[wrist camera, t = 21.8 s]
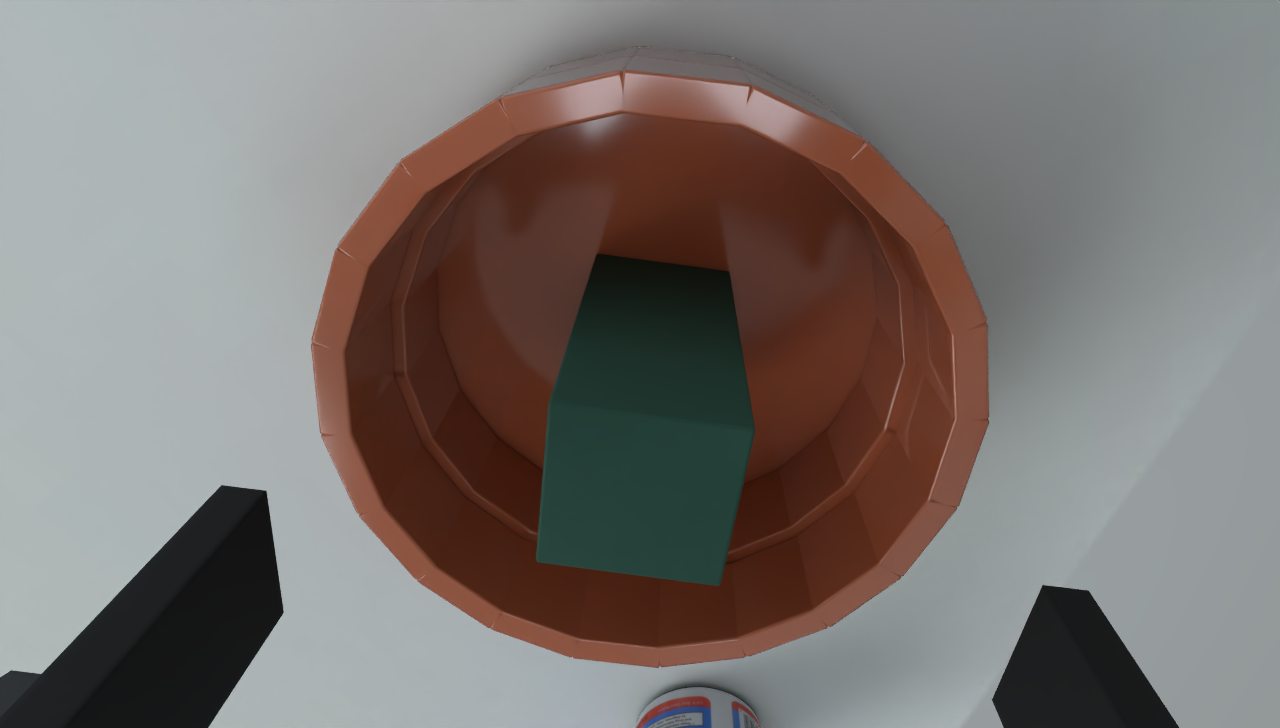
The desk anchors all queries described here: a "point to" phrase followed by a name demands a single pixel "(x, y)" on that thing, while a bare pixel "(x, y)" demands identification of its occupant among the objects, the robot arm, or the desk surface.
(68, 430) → the desk surface
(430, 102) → the desk surface
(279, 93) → the desk surface
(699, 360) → the green block
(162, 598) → the robot arm
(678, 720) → the pill bottle
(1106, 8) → the desk surface
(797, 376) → the bowl
